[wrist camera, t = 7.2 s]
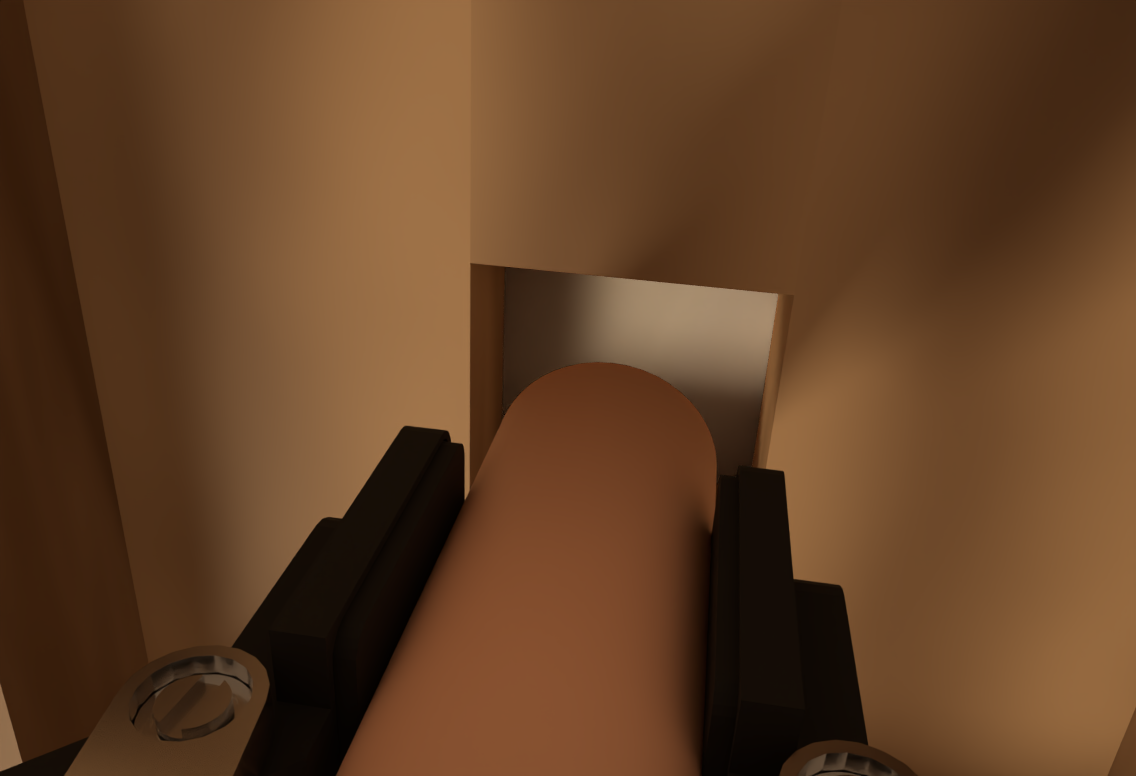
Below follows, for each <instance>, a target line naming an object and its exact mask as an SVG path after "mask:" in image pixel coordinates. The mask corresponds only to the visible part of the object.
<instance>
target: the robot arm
mask: <svg viewBox="0 0 1136 776" xmlns="http://www.w3.org/2000/svg"><path fill="white" fill-rule="evenodd" d="M464 501H465V452H464V446H463V444H462V443H454V442H451V437H450V433H449V432H448V430H440V429H431V428H423V427H415V426H404V427H403V428H402V429H401V430H400V432H399V433H398V435H397V436H396V438H395V439H394V441H393V442H392V444H391V445H390V447H389V448H388V450H387V451H386V453H385V454H384V456H383V457H382V459H381V460H380V462H379V463H378V465H377V466H376V468H375V469H374V471H373V472H372V474H371V475H370V477H369V478H368V480H367V482H366V483H365V485H364V486H363V488H362V489H361V491H360V492H359V494H358V495H357V497H356V498H355V500H354V501H353V503H352V504H351V506H350V507H349V509H348V510H347V512H346V513H345V515H344V516H343V518H342V519H341V518H334V517H326V518H323V519H322V520H321V521H320V522H319V523H318V524H317V525H316V526H315V528H314V529H313V530H312V532H311V533H310V535H309V536H308V538H307V539H306V540H305V542H304V543H303V545H302V546H301V548H300V549H299V551H298V552H297V553H296V555H295V556H294V558H293V559H292V561H291V562H290V563H289V565H288V566H287V568H286V569H285V571H284V572H283V574H282V575H281V576H280V578H279V579H278V581H277V582H276V584H275V585H274V586H273V588H272V589H271V591H270V592H269V594H268V595H267V597H266V598H265V599H264V601H263V602H262V604H261V605H260V607H259V608H258V609H257V611H256V612H255V614H254V615H253V617H252V618H251V620H250V621H249V622H248V624H247V625H246V627H245V628H244V630H243V631H242V632H241V634H240V635H239V637H238V638H237V640H236V641H235V643H234V644H233V645H232V647H226V646H221V645H212V646H195V647H191V648H187V649H183V650H178V651H174V652H172V653H169V654H167V655H165V656H163V657H160V658H158V659H156V660H154V661H151V662H150V663H148V664H147V665H146V666H144V667H143V668H141V669H140V670H139V671H137V672H136V673H134V674H133V675H132V676H131V677H130V678H129V679H128V680H127V682H126V683H125V684H124V685H123V686H122V687H121V689H120V690H119V691H118V692H117V694H116V695H115V697H114V699H113V700H112V702H111V703H110V705H109V706H108V708H107V710H106V711H105V713H104V714H103V716H102V717H101V719H100V720H99V722H98V724H97V725H96V727H95V728H94V730H93V731H92V733H91V735H90V736H89V737H87V738H84V739H82V740H79V741H76V742H74V743H71V744H69V745H66V746H64V747H61V748H59V749H56V750H54V751H51V752H48V753H46V754H43V755H41V756H38V757H36V758H33V759H31V760H28V761H26V762H23V763H21V764H18V765H15V766H13V767H10V768H8V769H5V770H3V771H0V776H336V775H337V772H338V770H339V768H340V766H341V764H342V762H343V760H344V757H345V755H346V753H347V751H348V749H349V747H350V745H351V743H352V740H353V738H354V736H355V734H356V732H357V730H358V728H359V725H360V723H361V721H362V719H363V717H364V715H365V713H366V710H367V708H368V706H369V704H370V702H371V700H372V698H373V696H374V693H375V691H376V689H377V687H378V685H379V683H380V681H381V678H382V676H383V674H384V672H385V670H386V668H387V666H388V664H389V661H390V659H391V657H392V655H393V653H394V651H395V649H396V646H397V644H398V642H399V640H400V638H401V636H402V634H403V632H404V629H405V627H406V625H407V623H408V621H409V619H410V617H411V614H412V612H413V610H414V608H415V606H416V604H417V602H418V599H419V597H420V595H421V593H422V591H423V589H424V587H425V585H426V582H427V580H428V578H429V576H430V574H431V572H432V570H433V567H434V565H435V563H436V561H437V559H438V557H439V555H440V553H441V550H442V548H443V546H444V544H445V542H446V540H447V538H448V535H449V533H450V531H451V529H452V527H453V525H454V523H455V521H456V518H457V516H458V514H459V512H460V510H461V508H462V506H463V503H464ZM702 776H918V775H917V774H916V773H915V772H914V771H913V770H911V769H910V768H909V767H908V766H907V765H906V764H904V763H903V762H901V761H899V760H898V759H896V758H894V757H893V756H891V755H889V754H888V753H886V752H884V751H882V750H879V749H876V748H873V747H870V746H868V740H867V733H866V727H865V721H864V715H863V708H862V702H861V696H860V690H859V683H858V677H857V671H856V664H855V658H854V652H853V646H852V639H851V633H850V627H849V621H848V614H847V608H846V602H845V596H844V592H843V588H842V587H841V586H840V585H836V584H829V583H821V582H814V581H806V580H799V579H794V577H793V566H792V554H791V543H790V531H789V520H788V508H787V496H786V485H785V474H784V471H780V470H772V469H764V468H756V467H747V466H739V467H738V470H737V475H736V477H733V476H725V475H720V478H719V484H718V491H717V498H716V506H715V513H714V520H713V527H712V536H711V560H710V584H709V609H708V633H707V657H706V682H705V706H704V730H703V755H702Z"/></svg>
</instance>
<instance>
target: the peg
mask: <svg viewBox="0 0 1136 776" xmlns="http://www.w3.org/2000/svg"><path fill="white" fill-rule="evenodd" d="M716 474H717V461H716V451H715V447H714V443H713V439H712V436H711V434H710V431H709V429H708V426H707V425H706V423H705V421H704V419H703V418H702V416H701V414H700V413H699V412H698V410H697V409H696V408H695V407H694V405H693V404H692V403H691V402H690V401H689V400H688V399H687V398H686V397H685V396H684V395H683V394H682V393H681V392H680V391H678V390H677V389H676V388H674V387H673V386H672V385H671V384H669V383H667V382H666V381H664V380H662V379H661V378H659V377H657V376H655V375H653V374H651V373H648V372H646V371H644V370H641V369H637V368H634V367H631V366H627V365H621V364H615V363H603V362H593V363H581V364H576V365H571V366H567V367H564V368H561V369H558V370H555V371H552V372H550V373H548V374H546V375H544V376H542V377H541V378H539V379H538V380H536V381H535V382H533V383H532V384H530V385H529V386H528V387H527V388H526V389H525V390H523V391H522V392H521V393H520V394H519V395H518V397H517V398H516V399H515V400H514V401H513V403H512V404H511V406H510V407H509V409H508V411H507V412H506V414H505V416H504V418H503V420H502V422H501V424H500V427H499V429H498V431H497V433H496V435H495V437H494V439H493V442H492V444H491V446H490V448H489V450H488V452H487V454H486V456H485V459H484V461H483V463H482V465H481V467H480V469H479V471H478V474H477V476H476V478H475V480H474V482H473V484H472V486H471V489H470V491H469V493H468V495H467V497H466V499H465V501H464V503H463V506H462V508H461V510H460V512H459V514H458V516H457V518H456V521H455V523H454V525H453V527H452V529H451V531H450V533H449V535H448V538H447V540H446V542H445V544H444V546H443V548H442V550H441V553H440V555H439V557H438V559H437V561H436V563H435V565H434V567H433V570H432V572H431V574H430V576H429V578H428V580H427V582H426V585H425V587H424V589H423V591H422V593H421V595H420V597H419V599H418V602H417V604H416V606H415V608H414V610H413V612H412V614H411V617H410V619H409V621H408V623H407V625H406V627H405V629H404V632H403V634H402V636H401V638H400V640H399V642H398V644H397V646H396V649H395V651H394V653H393V655H392V657H391V659H390V661H389V664H388V666H387V668H386V670H385V672H384V674H383V676H382V678H381V681H380V683H379V685H378V687H377V689H376V691H375V693H374V696H373V698H372V700H371V702H370V704H369V706H368V708H367V710H366V713H365V715H364V717H363V719H362V721H361V723H360V725H359V728H358V730H357V732H356V734H355V736H354V738H353V740H352V743H351V745H350V747H349V749H348V751H347V753H346V755H345V757H344V760H343V762H342V764H341V766H340V768H339V770H338V772H337V775H336V776H702V755H703V730H704V706H705V682H706V657H707V633H708V609H709V584H710V560H711V536H712V527H713V520H714V513H715V502H716Z"/></svg>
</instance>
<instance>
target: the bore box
mask: <svg viewBox="0 0 1136 776" xmlns="http://www.w3.org/2000/svg"><path fill="white" fill-rule="evenodd" d="M505 267H515V268H525V269H535V270H545V271H555V272H566V273H576V274H586V275H596V276H606V277H616V278H626V279H636V280H646V281H656V282H666V283H676V284H686V285H696V286H707V287H717V288H727V289H737V290H747V291H757V292H767V293H777V294H778V301H777V307H776V314H775V320H774V327H773V333H772V340H771V346H770V352H769V359H768V365H767V372H766V378H765V385H764V391H763V398H762V404H761V411H760V417H759V424H758V430H757V436H756V443H755V449H754V456H753V462H752V467H756V468H764V469H772V470H780V471H784V474H785V485H786V496H787V508H788V520H789V531H790V543H791V554H792V566H793V577H794V579H799V580H806V581H814V582H821V583H829V584H836V585H840V586H841V587H842V588H843V592H844V596H845V602H846V608H847V614H848V621H849V627H850V633H851V639H852V646H853V652H854V658H855V664H856V671H857V677H858V683H859V690H860V696H861V702H862V708H863V715H864V721H865V727H866V733H867V740H868V746H870V747H873V748H876V749H879V750H882V751H884V752H886V753H888V754H889V755H891V756H893V757H894V758H896V759H898V760H899V761H901V762H903V763H904V764H906V765H907V766H908V767H909V768H910V769H911V770H913V771H914V772H915V773H916V774H917V775H918V776H1136V0H0V771H3V770H5V769H8V768H10V767H13V766H15V765H18V764H21V763H23V762H26V761H28V760H31V759H33V758H36V757H38V756H41V755H43V754H46V753H48V752H51V751H54V750H56V749H59V748H61V747H64V746H66V745H69V744H71V743H74V742H76V741H79V740H82V739H84V738H87V737H89V736H90V735H91V733H92V731H93V730H94V728H95V727H96V725H97V724H98V722H99V720H100V719H101V717H102V716H103V714H104V713H105V711H106V710H107V708H108V706H109V705H110V703H111V702H112V700H113V699H114V697H115V695H116V694H117V692H118V691H119V690H120V689H121V687H122V686H123V685H124V684H125V683H126V682H127V680H128V679H129V678H130V677H131V676H132V675H133V674H134V673H136V672H137V671H139V670H140V669H141V668H143V667H144V666H146V665H147V664H148V663H150V662H151V661H154V660H156V659H158V658H160V657H163V656H165V655H167V654H169V653H172V652H174V651H178V650H183V649H187V648H191V647H195V646H212V645H221V646H226V647H232V645H233V644H234V643H235V641H236V640H237V638H238V637H239V635H240V634H241V632H242V631H243V630H244V628H245V627H246V625H247V624H248V622H249V621H250V620H251V618H252V617H253V615H254V614H255V612H256V611H257V609H258V608H259V607H260V605H261V604H262V602H263V601H264V599H265V598H266V597H267V595H268V594H269V592H270V591H271V589H272V588H273V586H274V585H275V584H276V582H277V581H278V579H279V578H280V576H281V575H282V574H283V572H284V571H285V569H286V568H287V566H288V565H289V563H290V562H291V561H292V559H293V558H294V556H295V555H296V553H297V552H298V551H299V549H300V548H301V546H302V545H303V543H304V542H305V540H306V539H307V538H308V536H309V535H310V533H311V532H312V530H313V529H314V528H315V526H316V525H317V524H318V523H319V522H320V521H321V520H322V519H323V518H326V517H334V518H341V519H342V518H343V516H344V515H345V513H346V512H347V510H348V509H349V507H350V506H351V504H352V503H353V501H354V500H355V498H356V497H357V495H358V494H359V492H360V491H361V489H362V488H363V486H364V485H365V483H366V482H367V480H368V478H369V477H370V475H371V474H372V472H373V471H374V469H375V468H376V466H377V465H378V463H379V462H380V460H381V459H382V457H383V456H384V454H385V453H386V451H387V450H388V448H389V447H390V445H391V444H392V442H393V441H394V439H395V438H396V436H397V435H398V433H399V432H400V430H401V429H402V428H403V427H404V426H415V427H423V428H431V429H440V430H448V432H449V433H450V437H451V442H454V443H462V444H463V446H464V452H465V499H466V497H467V495H468V493H469V491H470V489H471V486H472V484H473V482H474V480H475V478H476V476H477V474H478V471H479V469H480V467H481V465H482V463H483V461H484V459H485V456H486V454H487V452H488V450H489V448H490V446H491V444H492V442H493V439H494V437H495V435H496V433H497V431H498V429H499V427H500V424H501V422H502V393H503V343H504V294H505ZM717 491H718V483H716V498H717ZM715 506H716V502H715Z"/></svg>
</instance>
